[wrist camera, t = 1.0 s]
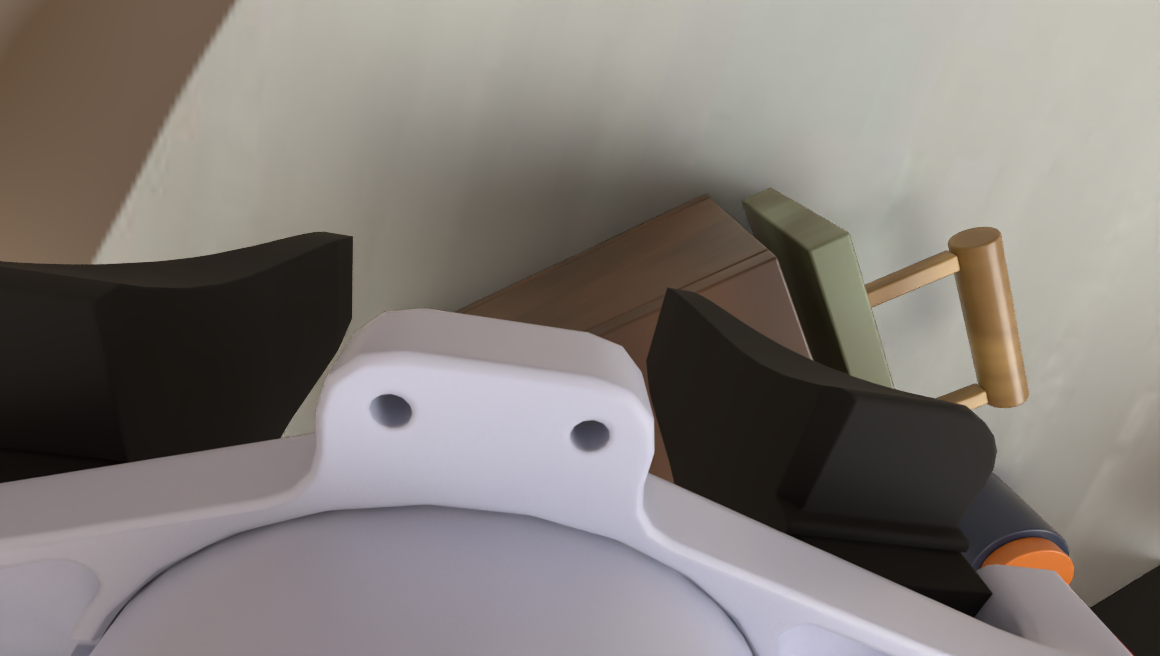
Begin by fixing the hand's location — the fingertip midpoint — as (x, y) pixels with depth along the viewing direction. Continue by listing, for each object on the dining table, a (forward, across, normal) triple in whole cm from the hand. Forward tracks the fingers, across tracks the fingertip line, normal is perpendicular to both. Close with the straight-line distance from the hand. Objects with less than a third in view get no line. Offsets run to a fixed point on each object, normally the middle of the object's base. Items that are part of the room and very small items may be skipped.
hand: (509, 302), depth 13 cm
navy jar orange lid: (+9, -24, +12) cm, 29 cm away
